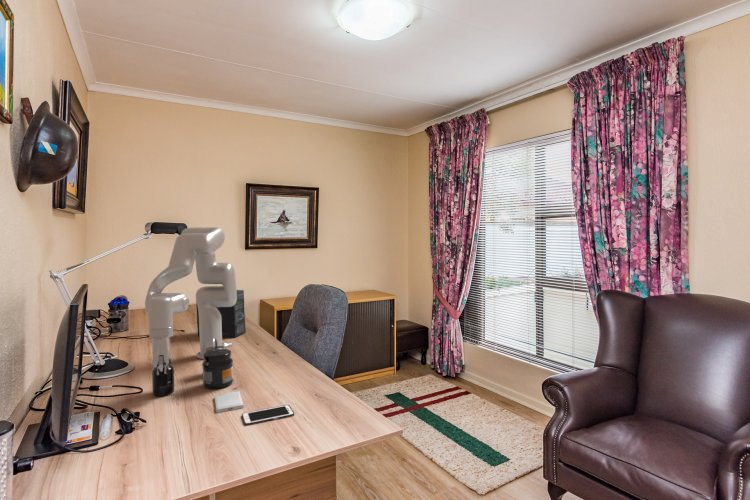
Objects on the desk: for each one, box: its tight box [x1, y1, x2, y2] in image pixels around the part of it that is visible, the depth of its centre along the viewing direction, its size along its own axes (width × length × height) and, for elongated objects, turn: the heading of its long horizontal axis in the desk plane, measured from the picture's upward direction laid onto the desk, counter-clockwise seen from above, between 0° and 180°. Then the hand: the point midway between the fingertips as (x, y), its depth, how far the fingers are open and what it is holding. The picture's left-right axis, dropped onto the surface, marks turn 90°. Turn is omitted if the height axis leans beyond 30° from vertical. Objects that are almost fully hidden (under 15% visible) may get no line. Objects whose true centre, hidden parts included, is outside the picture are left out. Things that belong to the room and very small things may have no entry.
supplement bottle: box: [151, 358, 175, 398], centre depth 143 cm, size 7×7×12 cm
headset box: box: [195, 289, 247, 338], centre depth 225 cm, size 22×12×26 cm, turn 81°
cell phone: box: [241, 404, 295, 426], centre depth 125 cm, size 8×15×1 cm, turn 115°
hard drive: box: [214, 391, 245, 414], centre depth 134 cm, size 2×8×12 cm
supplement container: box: [201, 348, 234, 390], centre depth 151 cm, size 10×10×12 cm
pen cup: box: [205, 339, 224, 352], centre depth 163 cm, size 7×7×14 cm
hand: (163, 380), depth 143 cm, fingers open, 9 cm apart
